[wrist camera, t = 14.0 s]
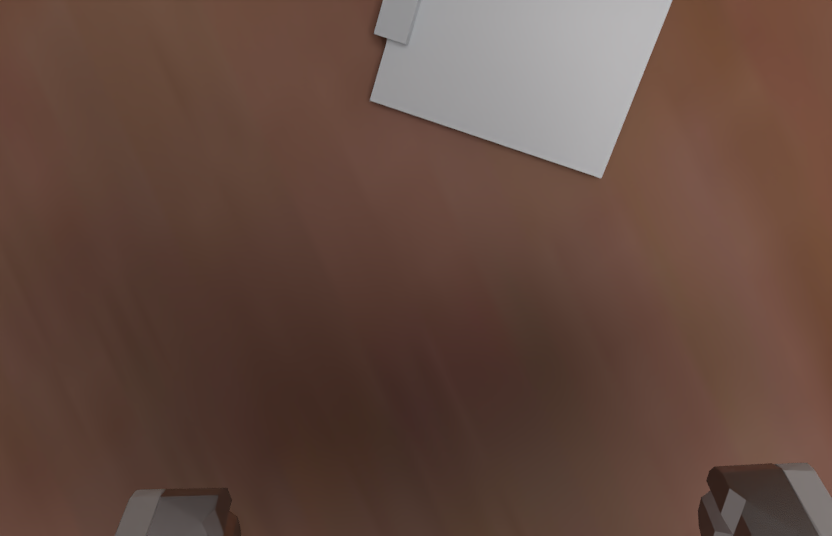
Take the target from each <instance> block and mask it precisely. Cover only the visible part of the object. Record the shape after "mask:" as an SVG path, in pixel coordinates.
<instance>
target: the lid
mask: <svg viewBox="0 0 832 536" xmlns="http://www.w3.org/2000/svg"><path fill="white" fill-rule="evenodd" d="M671 2H672V0H383V2H382V6H381V9H380V13H379V16H378V20H377V24H376V27H375V31H374V34H376V35H379V36H382V37H385V38H388V39H387V42H386V46H385V49H384V53H383V56H382V60H381V63H380V67H379V70H378V74H377V77H376V81H375V84H374V88H373V91H372V94H371V98H370V101H373V102H376V103H379V104H382V105H385V106H388V107H391V108H394V109H397V110H399V111H402V112H405V113H408V114H411V115H414V116H417V117H420V118H423V119H426V120H429V121H432V122H435V123H438V124H441V125H444V126H447V127H450V128H453V129H456V130H459V131H462V132H465V133H468V134H471V135H474V136H477V137H480V138H483V139H486V140H489V141H492V142H495V143H497V144H500V145H503V146H506V147H509V148H512V149H515V150H518V151H521V152H524V153H527V154H530V155H533V156H536V157H539V158H542V159H545V160H548V161H551V162H554V163H557V164H560V165H563V166H566V167H569V168H572V169H575V170H578V171H581V172H584V173H587V174H590V175H593V176H595V177H598V178H602V176H603V173H604V171H605V168H606V166H607V163H608V161H609V158H610V155H611V153H612V150H613V148H614V145H615V143H616V140H617V138H618V135H619V133H620V130H621V128H622V125H623V123H624V120H625V118H626V115H627V113H628V110H629V108H630V105H631V103H632V100H633V98H634V95H635V93H636V90H637V88H638V85H639V83H640V80H641V78H642V75H643V73H644V70H645V68H646V65H647V63H648V60H649V58H650V55H651V53H652V50H653V48H654V45H655V43H656V40H657V38H658V35H659V32H660V30H661V27H662V25H663V22H664V20H665V17H666V15H667V12H668V10H669V7H670V5H671Z"/></svg>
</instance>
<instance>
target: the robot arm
mask: <svg viewBox="0 0 832 536" xmlns="http://www.w3.org/2000/svg"><path fill="white" fill-rule="evenodd" d="M706 481H707V483H708V486H709V488H710V491H709V492H708V493H707V494H705V495H704V496H703V497H701V500H700V505H699V509H698V520H699V529H700V533H701V536H832V498H831V496H830V494H829V493H828V491H827V490H826V488H825V486H824V485H823V483H822V481H821V480H820V478H819V476H818V475H817V473H816V472H815V470H814V468H813V467H811V466H810V465H809V464H808V463H787V464H772V463H769V464H751V465H734V466H716V467H713V468H712V469H711V470H710V471H709V474H708V477H707V480H706ZM231 502H232V499H231V496H230V493H229V491H228V488H188V489H146V490H136V491H135V492H134V494H133V495H132V496H131V497H130V499H129V501H128V503H127V506H126V508H125V511H124V513H123V516H122V518H121V521H120V523H119V526H118V528H117V531H116V533H115V536H241V530H240V524H239V520H238V517H237V516H236V515H235V514H233V513H232V512H230V511H229V510H230V506H231Z"/></svg>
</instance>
